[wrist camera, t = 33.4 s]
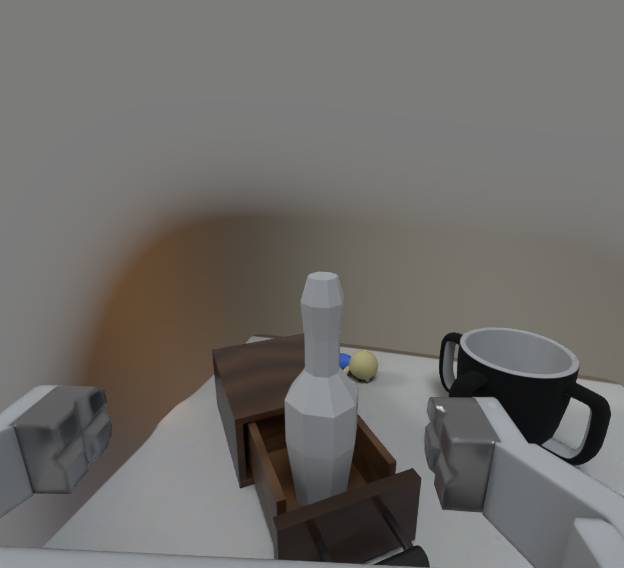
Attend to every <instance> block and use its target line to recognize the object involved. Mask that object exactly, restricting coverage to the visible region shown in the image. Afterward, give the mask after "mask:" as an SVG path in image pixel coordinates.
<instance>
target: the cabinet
mask: <svg viewBox="0 0 624 568" xmlns="http://www.w3.org/2000/svg"><path fill="white" fill-rule="evenodd" d="M212 354H213V364H214V375H215V385H216V396H217V405H218V409H219V412H220V416H221V420H222V423H223V427H224V431H225V434H226V438H227V442H228V445H229V449H230V453H231V457H232V460H233V464H234V468H235V471H236V475H237V479H238V482H239V486H240V488H242V487H246V486H249V485H252V484H254V481H253V478H252V475H251V471H250V468H249V465H248V462H247V456H246V442H245V429H244V424H245V423H249V422H253V421H257V420H261V419H265V418H268V417H272V416H276V415H280V414H284V413H285V398H286V396H287V393H288V391H289V389H290V387H291V385H292V383H293V382H294V381H295V379H296V378H297V377H298V376H299V374H300V373H301V372H302V371H303V370H304V368H305V336H304V334H299V335H293V336H287V337H281V338H276V339H270V340H265V341H259V342H253V343H248V344H242V345H237V346H232V347H226V348H220V349H214V350H212Z"/></svg>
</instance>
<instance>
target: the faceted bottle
mask: <svg viewBox="0 0 624 568" xmlns="http://www.w3.org/2000/svg"><path fill="white" fill-rule="evenodd" d="M343 304H344V296H343V292H342V289H341V285H340V282H339V278H338V275H337V274H333V273H330V272H316V273H312V274H310V275H309V276H308V278H307V281H306V285H305V288H304V292H303V295H302V299H301V311H302V319H303V327H304V336H305V368H304V370H303V371H302V372H301V373H300V374H299V376H298V377H297V378H296V379H295V381H294V382H293V383H292V385H291V387H290V389H289V391H288V393H287V396H286V398H285V432H286V444H287V450H288V455H289V461H290V466H291V471H292V477H293V482H294V487H295V493H296V498H297V501H298V503H299V504H300V505H301V506H302V507H303V506H306V505H309V504H312V503H315V502H318V501H320V500H323V499H326V498H329V497H332V496H335V495H337V494H340V493H343V492H346V491H347V485H348V480H349V474H350V468H351V463H352V457H353V451H354V445H355V438H356V430H357V410H358V388H357V386H356V385H355V384H354V383H353V382H352V381H351V379H350V378H349V377H348V376H347V375H346V373H345V372H344V371H343V370H342V369H341V368H340V366H339V361H340V328H341V321H342V312H343Z"/></svg>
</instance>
